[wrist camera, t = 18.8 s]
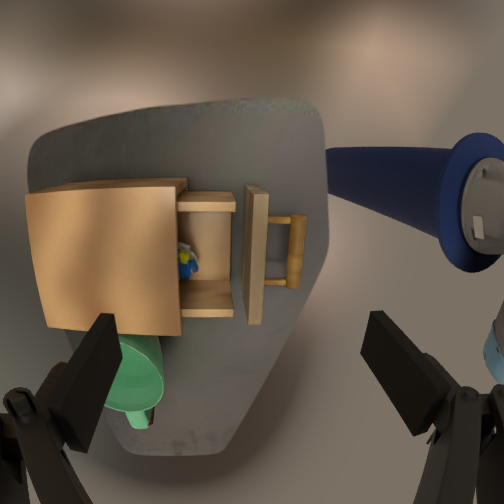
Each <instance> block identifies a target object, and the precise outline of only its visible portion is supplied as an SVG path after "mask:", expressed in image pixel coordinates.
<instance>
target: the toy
mask: <svg viewBox="0 0 504 504" xmlns="http://www.w3.org/2000/svg"><path fill="white" fill-rule="evenodd" d="M196 261H197V257H196V255H195V254H194V253H193V252H192V251H190V245H187V244H184V243H181V242H178V267H179V279H183V280H189V278H190V276H191V274H193V273H196V272H198V265H197V263H196Z"/></svg>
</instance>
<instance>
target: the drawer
mask: <svg viewBox="0 0 504 504" xmlns="http://www.w3.org/2000/svg"><path fill="white" fill-rule="evenodd" d="M268 206H269V194H268V193H266V192H265V191H264V190H262V189H261V188H259V187H258V186H257V185H245V191H244V218H243V247H242V279H241V290H242V295H243V300H244V305H245V311H246V316H247V321H248V325H260V324H262V310H263V294H264V286H272V285H285V286H286V287H287V288H290V289H297V288H299V287H300V283H301V273H302V263H303V253H304V242H305V231H306V219H307V216H306V215H303V214H291V215H290V217H288V216H268ZM231 212H236V201H235V199H234V197H233V194H232V192H225V191H181V192H180V193H179V194H178V195H177V239H178V242H181V243H184V244H187V245H190V251H192V252H193V253H194V254H195V255H196V257H197V261H196V263H197V265H198V272H196V273H193V274H191V276H190V278H189V280H183V279H179V288H180V304H181V317H233V311H234V309H233V301H232V293H231V284H230V255H231ZM268 224H290V227H289V240H288V253H287V266H286V278H265V261H266V243H267V225H268Z"/></svg>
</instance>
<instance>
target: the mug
mask: <svg viewBox="0 0 504 504" xmlns="http://www.w3.org/2000/svg"><path fill="white" fill-rule="evenodd" d="M118 337H119V342H120V346H121V351H122V355H123V359H122V362H121V364H120V366H119V369H118V371H117V374H116V376H115V379H114V381H113V384H112V386H111V389H110V391H109V394H108V397H107V399H106V402H105V404H104V406H106V407H109V408H112V409H114V410H117V411H124V412H125V413H126V415H127V418H128V420H129V422H130V424H131V426H132V427H133V428H136V429H145V428H148V427H150V426H151V425H152V424H153V418H154V408H155V407H154V406H155V405H156V404H157V403H158V402H159V401H160V400H161V398H162V395H163V392H164V388H165V379H164V367H163V357H162V351H161V346H160V342H159V338H158V335H136V334H119V333H118ZM77 348H78V347H77Z"/></svg>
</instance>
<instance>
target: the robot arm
mask: <svg viewBox="0 0 504 504" xmlns="http://www.w3.org/2000/svg"><path fill="white" fill-rule="evenodd" d="M457 212H458V224H459V229H460V232H461V235H462V238H463V240H464V241H465V243H466V244H467V245H468V246H469V247H470V248H471V249H473V250H475V251H477V252H480V253H483V254H504V162H503V161H501V160H499V159H496V158H490V157H483V158H480V159H478V160H477V161H475V162H474V163H473V164H472V165H471V166H470V168H469V169H468V171H467V172H466V174H465V176H464V179H463V181H462V184H461V188H460V192H459V198H458V209H457ZM360 354H361V355H362V357H363V358H364V360H365V361H366V363H367V364H368V366H369V368H370V369H371V371H372V372H373V373H374V375H375V377H376V378H377V380H378V381H379V383H380V384H381V386H382V388H383V389H384V391H385V392H386V394H387V395H388V397H389V398H390V400H391V402H392V403H393V405H394V406H395V408H396V409H397V411H398V413H399V414H400V416H401V417H402V419H403V421H404V422H405V424H406V425H407V427H408V429H409V430H410V432H411V434H412V435H413V436H416V435H420V434H422V433H425V432H427V431H428V429H429V428H430V426H431V424H432V423H433V424H434V426H435V427H436V429H435V430H434V432H433V433H432V435H431V436H430V438H429V440H428V441H427V443H426V444H429V442H430V441H431V444H430V448H429V452H428V456H427V460H426V464H425V467H424V471H423V474H422V478H421V481H420V484H419V487H418V490H417V493H416V496H415V499H414V502H413V504H473V498H474V493H475V486H476V495H477V504H504V302H503V304H502V306H501V309H500V311H499V313H498V315H497V318H496V319H495V320H494V321H493V323H492V329H491V331H490V333H489V336H488V338H487V340H486V342H485V345H484V350H483V354H484V360H485V362H486V366H487V368H488V370H489V371H490V373H491V374H492V376H493V377H494V379H495V380H496V381H497V382H498V383H499V384H497V385H495V386H494V387H493V389H492V391H491V392H490V394H479V392H477V391H476V390H475V389H473V388H471V387H466V386H463V387H461V386H460V385H459V384H458V383H457V382H456V381H455V380H454V379H453V378H452V377H451V375H450V374H449V373H448V372H447V371H446V370H445V369H444V368H443V366H442V365H441V366H440V363H439V362H438V361H437V360H436V359H435V358H434V357H432V356H431V355H429V354H427V353H422V352H421V351H420V350H419V349H418V348H417V347H416V346H415V344H413V342H412V341H411V340H410V339H409V338H408V337H407V336H406V335H405V334H404V333H403V331H402V330H401V329H400V328H399V327H398V326H397V325H396V324H395V323H394V322H393V321H392V320H391V319H390V318H389V317H388V316H387V315H386V314H385V313H384V311H383V310H381V311H371V312H370V316H369V320H368V324H367V329H366V333H365V337H364V341H363V345H362V348H361V352H360ZM122 359H123V355H122V351H121V346H120V342H119V337H118V332H117V327H116V321H115V316H114V314H113V313H100V314H99V316H98V317H97V319H96V320H95V322H94V323H93V325H92V326H91V328H90V329H89V331H88V332H87V334H86V335H85V337H84V338H83V340H82V341H81V343H80V344H79V346H78V348H77V349H76V351H75V352H74V354H73V356H72V357H71V359H70V360H69V362H68V363H66V362H60V363H58V364H57V365H55V366H54V367H53V368H52V369H51V371H50V372H49V374H48V376H47V377H46V379H45V380H44V383H42V385H41V386H40V388H39V390H38V391H37V393H36V395H35V396H33V394H32V393H31V391H30V390H28V389H27V388H22V387H19V388H14V389H12V390H10V391H9V392H8V393H7V394H6V395H5V397H4V398H3V404H4V406H5V408H6V410H7V411H8V413H9V414H2V413H0V504H30V499H29V492H28V485H27V475H26V468H27V470H28V473H29V475H30V478H31V481H32V483H33V486H34V488H35V491H36V494H37V496H38V498H39V501H40V503H41V504H93V503H92V501H91V499H90V498H89V496H88V495H87V493H86V491H85V489H84V487H83V486H82V484H81V482H80V481H79V479H78V477H77V475H76V473H75V471H74V469H73V467H72V466H71V463H70V461H69V459H68V458H67V455H66V453H65V451H64V450H63V446H64V443H65V441H66V443H67V445H68V446H69V448H70V450H74V451H79V452H82V453H87V452H88V449H89V446H90V443H91V440H92V437H93V435H94V432H95V429H96V426H97V423H98V421H99V418H100V415H101V412H102V410H103V407H104V404H105V402H106V399H107V397H108V394H109V391H110V389H111V386H112V384H113V381H114V379H115V376H116V374H117V371H118V369H119V366H120V364H121V362H122ZM495 427H496V433H495V431H494V428H495Z"/></svg>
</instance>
